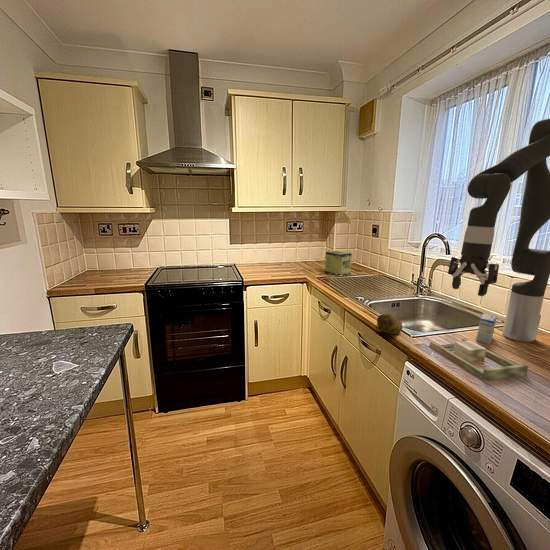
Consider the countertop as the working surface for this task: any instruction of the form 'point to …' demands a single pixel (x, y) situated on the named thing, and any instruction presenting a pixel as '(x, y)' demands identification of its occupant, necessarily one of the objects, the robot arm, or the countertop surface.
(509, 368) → the shallow green tray
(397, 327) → the potato
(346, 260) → the protein box
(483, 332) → the medicine box
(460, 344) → the cream block
